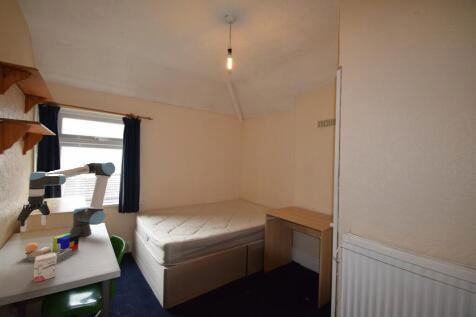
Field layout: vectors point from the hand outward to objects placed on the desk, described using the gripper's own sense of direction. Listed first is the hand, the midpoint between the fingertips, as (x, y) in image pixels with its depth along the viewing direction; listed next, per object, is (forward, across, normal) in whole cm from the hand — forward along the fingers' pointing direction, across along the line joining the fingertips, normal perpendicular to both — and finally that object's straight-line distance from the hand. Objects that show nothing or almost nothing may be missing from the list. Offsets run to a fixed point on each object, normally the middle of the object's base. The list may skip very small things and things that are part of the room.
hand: (33, 227), depth 134 cm
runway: (+20, 0, +12) cm, 23 cm away
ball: (+13, 0, -1) cm, 13 cm away
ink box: (+19, +24, +29) cm, 42 cm away
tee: (+19, 0, -1) cm, 19 cm away
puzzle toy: (+19, -11, +13) cm, 25 cm away
